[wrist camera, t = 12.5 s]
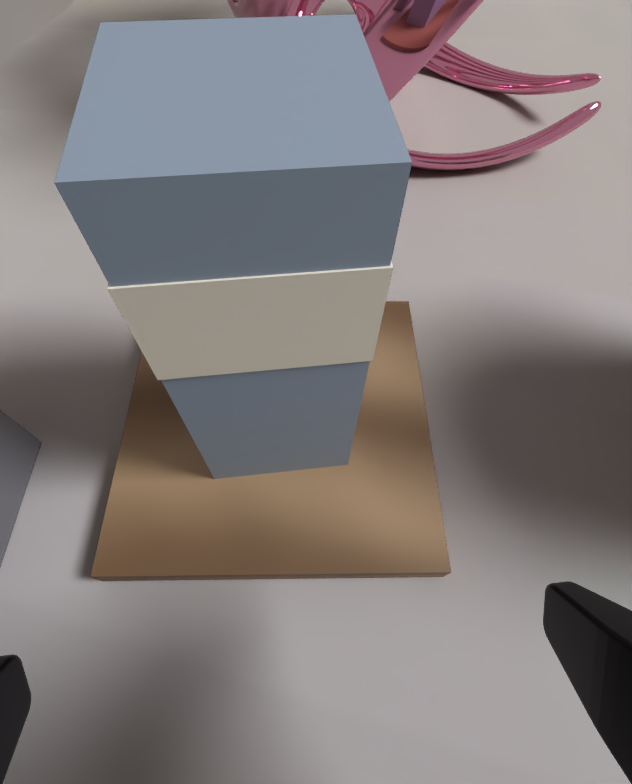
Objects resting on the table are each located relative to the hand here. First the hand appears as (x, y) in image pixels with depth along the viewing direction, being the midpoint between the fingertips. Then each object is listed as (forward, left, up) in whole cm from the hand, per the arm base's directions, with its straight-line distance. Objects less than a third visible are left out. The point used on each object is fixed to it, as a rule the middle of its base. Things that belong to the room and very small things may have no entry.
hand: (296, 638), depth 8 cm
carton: (+8, +1, -7) cm, 11 cm away
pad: (+8, +1, -8) cm, 12 cm away
